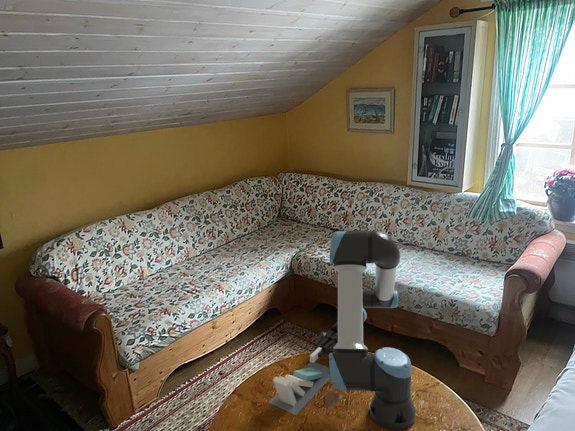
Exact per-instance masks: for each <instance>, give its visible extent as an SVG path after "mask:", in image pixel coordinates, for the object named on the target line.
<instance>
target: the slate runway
mask: <svg viewBox="0 0 575 431" xmlns="http://www.w3.org/2000/svg"><path fill="white" fill-rule="evenodd" d="M306 368H312V369H314V370H317V371H319V372H322V378H318V379H314V380H310V381H311V382H314V383H313V386H312V387H307V386H300V385H298V386H299V387H300V388H301V389H302V390H304V391H305V394H304V396H300V395H298V394H296V393H293V394H294V397H295V400H296V404H295V405H294V406H292V405H289V404H287V403H285V402H283V401H281V400H280V398H279V396H278V393H276V394H275V395H274V396H273V397H272V398H271V399H270V400H269V401H268V403H269V404H271V405H273V406H275V407H277V408H279V409H282V410H284V411H286V412H288V413H289V414H292V415H294V416H296V415H297V414H298V413H299V412H301V410H303V408H304V407H305V406H306V405H307V404H308V403H309V402H310V400H311V399H312V398H313V397H315V395H316V394H317V393H318V392H319V391H320V390H321V389H322V387H324V386H325V384H326V383H327V382H328V381H329V380H330V379H331V374H330V366H329V367H328V366H325V365H322V364H321V363H319V362H316V361H315V362H314V363H312V362H310V361H309V362H308V364H306V365H305V366H304V367H303V368H302V369H306Z"/></svg>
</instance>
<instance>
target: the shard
mask: <svg viewBox="0 0 575 431" xmlns="http://www.w3.org/2000/svg"><path fill="white" fill-rule="evenodd" d="M323 396H324V397H323V400H322V402H323V403H322V404H323V405H324V406H325V407H327V408H328V407H329V408H330V407H331V408H332V407H334V406H335V405H337V404H339V403H340V402H341V401H342V400H343V397H344V396H343V395H342V394H341V393H339V392H338V391H336V390H335V388H331V389H329V390H328V391H326V392H325V394H324V395H323Z"/></svg>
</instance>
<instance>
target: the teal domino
mask: <svg viewBox="0 0 575 431" xmlns="http://www.w3.org/2000/svg"><path fill="white" fill-rule="evenodd" d="M292 376H295V377H297V378H300V379H302V380H305V381H310V380H314V379H318V378H322V372H319V371H317V370H314V369H312V368H306V369H303V368H301V369H297V370H294V371H293V374H292Z"/></svg>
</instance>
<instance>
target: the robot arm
mask: <svg viewBox="0 0 575 431" xmlns="http://www.w3.org/2000/svg"><path fill="white" fill-rule="evenodd" d="M400 259H401V253H400V248H399V247H398V244H397V243H396V242H395V241H394V239H393V238H392V237H390V236H389V235H388V234H386V233H384V232H382V231H380V230H339V231H334V233H333V234H332V237H331V241H330V248H329V263H330V264H333V269H334V270H335V272H337V322H336V323H335V324H333V325H332V327H331V328H330V330H328V331H326V332H324V331H323V330H321V331H319V335H318V336H317V338H316V340H315V341H314V349H313V350H312V353H311V354H309V363H310V362H312V363H314V362H315V363H316V361H318V359H320V358H322V357H323V356H324V355H328V363H329V364H328V365H329V368H330V374H331V378H330V379H331V384H332V385H333V386H332V387H333V389H336V390H343V391H348V392H349V391H356V392H357V391H361V392H374V394H373V397H372V399H371V402H370V404H369V415H370V417H371V419H372V420H373V422H374V423H375V424H376V425H377V426H379V427H381V428H384V429H387V430H391V431H401V430H406V429H409V428H410V427H411V426H412V425H413V424H414V423H415V422H416V414H417V413H416V407H415V404H414V402H413V399H412V396H411V392H412V391H411V390H412V388H411V387H412V373H413V372H412V362H411V359H410V358H409V356H408V355H407V354H406V353H404V352H403V351H401V350H399V349H397V348H394V347H390V346H389V347H387V346H386V347H384V346H383V347H381V348H379V349H377V350H376V351H375V352H374V354H371V353H370V354H369V348H368V347H367V346H366V345H365V344H364V322H366V320H367V318H368V314H367V312H366V310H365V309H366V308H370V309H371V308H374V309H375V308H376V309H377V308H378V309H394V308H397V307H398V306H399V292H398V290H396V289H395V283H396V275H397V274H396V272H397V267H398V265H400ZM367 264H374V265H375V282H374V288H375V289H363V273H364V272H365V271H366V270H367Z"/></svg>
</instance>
